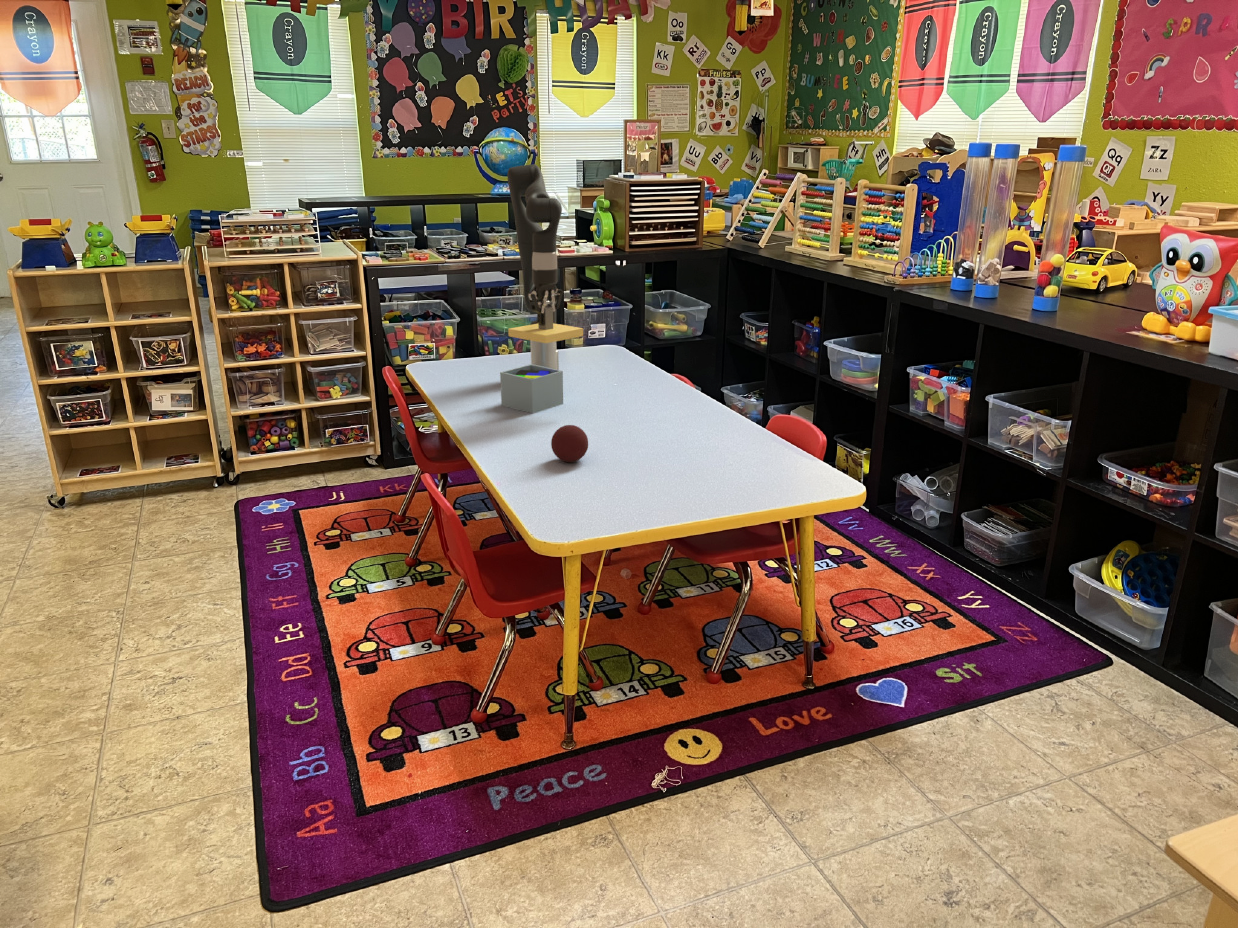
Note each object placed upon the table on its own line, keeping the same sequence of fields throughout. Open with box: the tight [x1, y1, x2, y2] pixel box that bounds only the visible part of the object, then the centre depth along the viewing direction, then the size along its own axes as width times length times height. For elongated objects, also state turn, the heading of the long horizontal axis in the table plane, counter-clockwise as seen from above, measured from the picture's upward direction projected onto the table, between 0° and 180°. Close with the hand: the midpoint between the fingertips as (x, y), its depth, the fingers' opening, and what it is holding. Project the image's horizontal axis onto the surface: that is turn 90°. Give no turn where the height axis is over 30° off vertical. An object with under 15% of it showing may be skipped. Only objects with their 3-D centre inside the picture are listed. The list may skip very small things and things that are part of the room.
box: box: [499, 363, 564, 414], centre depth 291 cm, size 14×14×11 cm
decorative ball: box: [550, 424, 589, 463], centre depth 241 cm, size 10×10×10 cm
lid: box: [508, 306, 584, 343], centre depth 275 cm, size 16×16×9 cm
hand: (545, 324), depth 275 cm, fingers closed on lid, 3 cm apart
